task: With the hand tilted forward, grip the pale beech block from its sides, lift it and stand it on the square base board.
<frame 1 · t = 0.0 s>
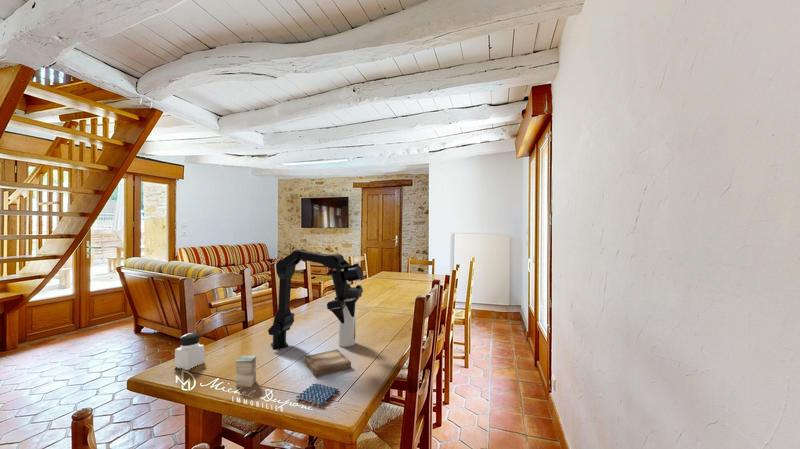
hand: (348, 319, 134), 15 cm above the table, tool pointing down, fingers open, 9 cm apart
beech block: (246, 383, 111), on the table
base: (327, 365, 126), on the table
milk bottle: (346, 344, 147), on the table
medicine bottle: (189, 365, 125), on the table
woven mat: (318, 398, 103), on the table
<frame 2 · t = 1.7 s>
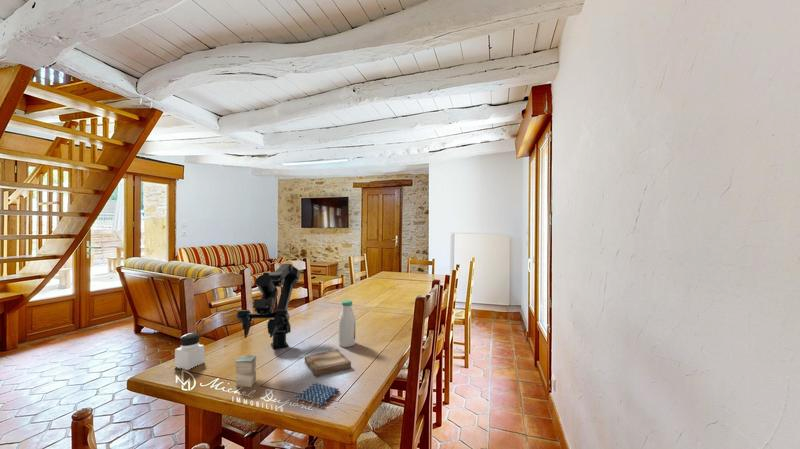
hand: (258, 337, 119), 13 cm above the table, tool tilted 45°, fingers open, 9 cm apart
nothing on the table moved.
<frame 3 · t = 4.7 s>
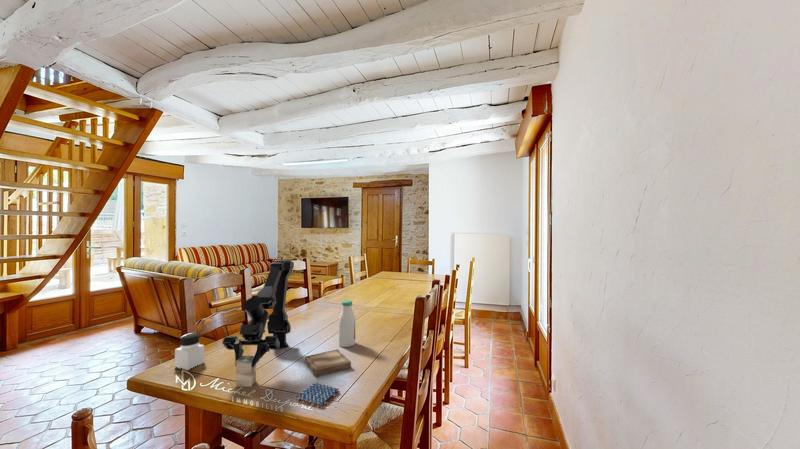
hand: (244, 366, 110), 7 cm above the table, tool tilted 45°, fingers closed on beech block, 5 cm apart
beech block: (246, 383, 111), on the table, touching gripper
everything else where it was.
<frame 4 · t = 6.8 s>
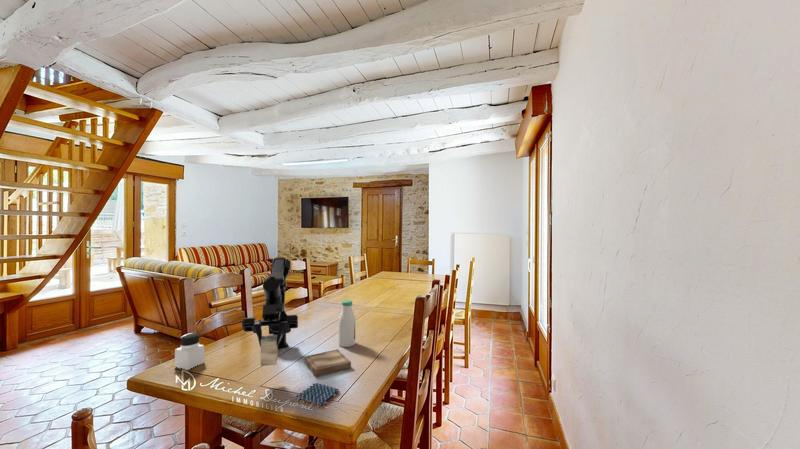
hand: (268, 345, 111), 13 cm above the table, tool tilted 45°, fingers closed on beech block, 5 cm apart
beech block: (269, 362, 112), point 7 cm above the table, touching gripper
everything else where it was.
when the fingers open (10 cm above the table, at t = 9.1 s): beech block drops 1 cm, resting on base.
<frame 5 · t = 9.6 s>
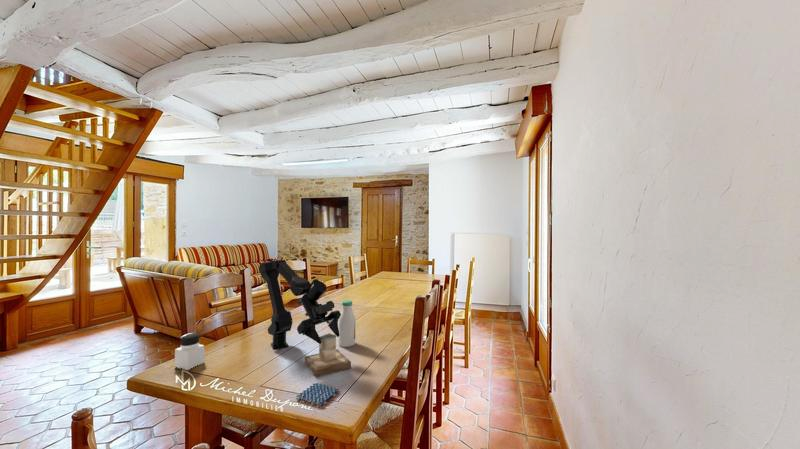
hand: (329, 339, 125), 11 cm above the table, tool tilted 45°, fingers open, 9 cm apart
beech block: (327, 358, 126), point 3 cm above the table, touching base
everything else where it was.
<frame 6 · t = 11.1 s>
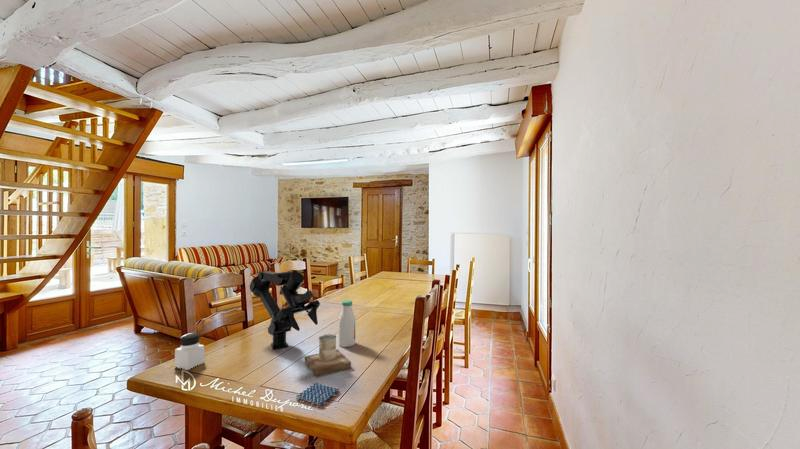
hand: (308, 327, 132), 13 cm above the table, tool tilted 45°, fingers open, 9 cm apart
nothing on the table moved.
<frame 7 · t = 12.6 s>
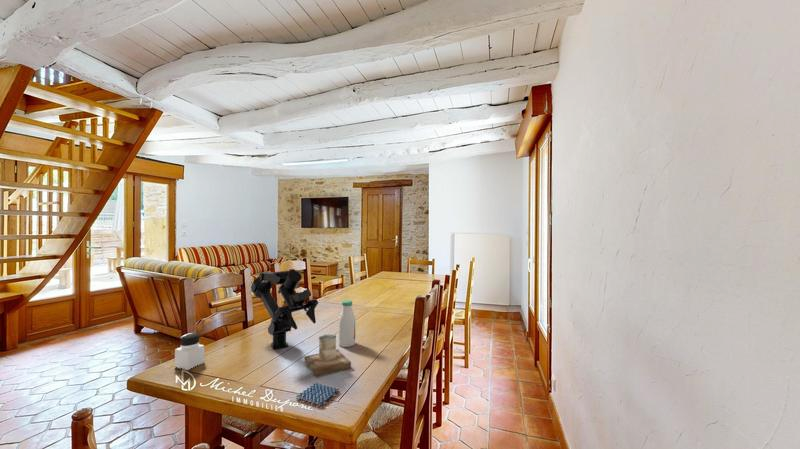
hand: (306, 325, 132), 14 cm above the table, tool tilted 45°, fingers open, 9 cm apart
nothing on the table moved.
at the end: beech block inside the target area on the base (0.1 cm from its centre), point 2.6 cm above the base's base; beech block tilted 0°; the gripper is holding nothing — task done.
